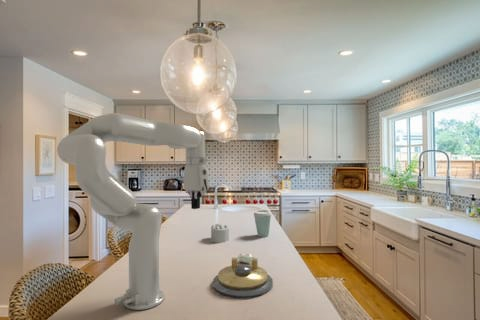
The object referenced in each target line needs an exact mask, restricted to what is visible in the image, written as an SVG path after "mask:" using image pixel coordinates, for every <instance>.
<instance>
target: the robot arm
mask: <svg viewBox="0 0 480 320" xmlns="http://www.w3.org/2000/svg"><path fill="white" fill-rule="evenodd" d="M205 137H206V136H205V133H204V131H201V130H198V129H197V128H195V127H193V126H190V125H184V124H181V123H172V122H166V121H158V120H151V119H146V118H140V117H137V116H132V115H128V114H124V113H118V112H112V113H106V114H100V115H97V116H95V117H93V118H92V119H90V120H88V121H87V122H86V123H83V124H82V125H81V126H79V127H78V128H76V129H75V130H73V131H71V132H70V133H69V134H68V135H65V137H63V138H62V139H61V140H60V141H59V143H58V145H57V147H56V151H57V156H58V157H59V159H60V160H61V161H62V162H64V163H65V164H68V165H73V166H74V176H75V177H74V178H75V181H76V184H77V185H78V188H79V189H81V191H83V192H84V194H86V195H87V196H89V204H90V206H91V208H92V210H93V211H94V212H95V213H96V214H98V215H99V216H100V217H102V218H103V219H105V220H107V221H108V222H109V223H111V224H112V225H114V226H115V227H117V228H118V229H120V230H124V231H127V232H132V234H131V237H130V240H129V245H128V289H126V290H125V293H124V294H123V295H122V296H119V297H116V298H115V299H114V304H115V306H119V305H120V304H123V306H124V307H126V309H129V310H135V311H137V310H138V311H139V310H140V311H142V310H148V309H151V308H155V307H156V306H158V305H160V304H161V303H163V301H164V300H165V293H164V292H163V291H162V290H160V236H161V235H160V234H161V228H162V220H163V219H162V218H163V217H162V214H161V211H160V210H159V209H158V208H157V207H156V206H153V205H152V204H146V203H140V202H139V203H138V199H137V197H136V195H135V193H134V192H133V191H132V190H131V189H130V188H129V187H128V186H127V185H125V184H124V183H122V181H120V180H119V179H118V178H116V177H115V176H114V175H113V174H112V173H111V172H110V171H109V169H108V168H107V163H106V162H107V161H106V160H107V159H106V158H107V157H106V156H107V146H106V142H107V143H108V142H109V143H110V142H119V143H126V144H129V143H130V144H134V145H140V146H141V145H142V146H149V147H150V146H152V147H153V146H154V147H156V146H157V147H159V146H167V147H169V148H170V149H173V150H174V149H175V150H181V149H182V150H183V149H185V165H184V172H183V189H184V191H185V193H186V194H187V195H189V198H190V201H191V207H190V208H191V209H193V210H197V209H200V208H201V198H202V197H203V195H206V194H207V193H208V192H207V191H208V190H209V189H210V188H209V187H210V184H209V182H210V181H209V180H210V179H209V171H208V167H207V165H206V162H207V159H206V158H205V157H206V154H205V153H206V149H205V146H206V145H205V142H206V139H205Z"/></svg>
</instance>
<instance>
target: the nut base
mask: <svg viewBox="0 0 480 320" xmlns="http://www.w3.org/2000/svg"><path fill="white" fill-rule="evenodd" d="M273 283H274V282H273V278H272V276H270V275H269V274H268V273H267V283H266V284H265V285H264V286H262V287H260V288H257V289H254V290H246V291H239V290H231V289H228V288H225V287H223V286H221V285H220V284H219V281H218V274H217V275H216V276H214V278H213V280H212V287H213V290H214V291H215V292H217V293H218V294H220V295H222V296H225V297H229V298H234V299H249V298H256V297H261V296H263V295H265V294H268V293H269V292H270V291H271V290H272V289H273V287H274V286H273Z"/></svg>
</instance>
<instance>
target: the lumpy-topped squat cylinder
mask: <svg viewBox="0 0 480 320" xmlns="http://www.w3.org/2000/svg"><path fill="white" fill-rule="evenodd" d="M210 230H211V231H210V232H211V233H210V236H211V237H210V240H211V242H214V243H216V244H222V242H223V243H226V241H227V242H229V241H230V226H229V225H228V224H226V223H216V224H212V225H211V227H210Z"/></svg>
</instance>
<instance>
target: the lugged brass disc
mask: <svg viewBox="0 0 480 320" xmlns="http://www.w3.org/2000/svg"><path fill="white" fill-rule="evenodd" d="M258 261H259V258H256V257H255V258H253V259H252V265H249V264H244V263H243V264H242V263H241V264H238V262H239V261H238V257H232V258H231V265H229V266H225V267H224V268H221V269H220V270H219V271H218V273H217V275H218V281H219V284H220V285H221V286H223V287H225V288H228V289H231V290H239V291H246V290H254V289H257V288H260V287H262V286H264V285H265V284H266V283H267V274H268V272H267V270H266V269H264V268H263V267H260V266H259V264H258Z"/></svg>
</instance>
